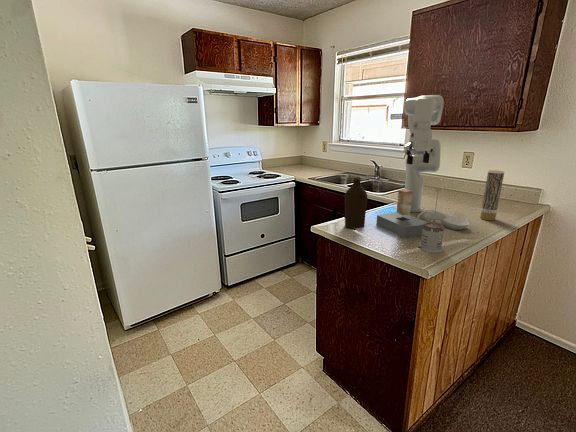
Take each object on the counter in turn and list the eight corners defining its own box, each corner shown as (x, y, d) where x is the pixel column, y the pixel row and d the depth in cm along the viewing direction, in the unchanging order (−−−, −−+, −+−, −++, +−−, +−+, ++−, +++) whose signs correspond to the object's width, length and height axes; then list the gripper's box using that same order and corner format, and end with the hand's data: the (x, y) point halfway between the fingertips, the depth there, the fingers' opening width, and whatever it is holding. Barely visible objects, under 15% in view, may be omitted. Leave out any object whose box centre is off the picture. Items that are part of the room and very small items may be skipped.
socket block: (376, 226, 154) (377, 215, 152) (399, 222, 158) (400, 211, 157) (404, 240, 136) (405, 227, 134) (429, 235, 140) (430, 223, 139)
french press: (418, 250, 125) (425, 190, 118) (417, 240, 135) (424, 184, 128) (445, 253, 122) (454, 191, 114) (442, 243, 132) (450, 185, 125)
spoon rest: (469, 227, 152) (471, 213, 150) (466, 234, 142) (469, 219, 140) (418, 219, 165) (420, 206, 163) (413, 225, 156) (414, 211, 153)
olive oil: (369, 226, 154) (373, 176, 146) (357, 232, 147) (360, 179, 139) (351, 222, 161) (354, 174, 154) (339, 226, 154) (341, 177, 147)
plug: (396, 212, 146) (398, 190, 142) (403, 211, 147) (405, 189, 144) (402, 215, 142) (404, 191, 139) (410, 214, 143) (412, 191, 140)
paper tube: (482, 216, 167) (490, 169, 159) (496, 218, 162) (505, 171, 155) (478, 219, 162) (486, 171, 155) (493, 221, 158) (502, 172, 150)
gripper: (412, 126, 137) (408, 165, 142) (442, 125, 143) (437, 163, 148) (400, 126, 144) (397, 163, 149) (430, 125, 150) (425, 161, 155)
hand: (417, 163), depth 148 cm, fingers open, 9 cm apart
